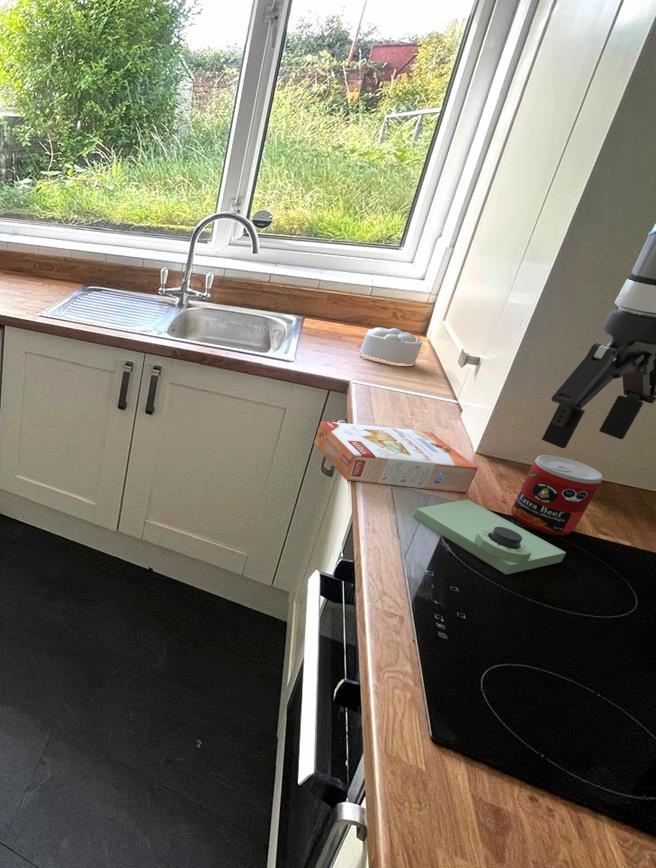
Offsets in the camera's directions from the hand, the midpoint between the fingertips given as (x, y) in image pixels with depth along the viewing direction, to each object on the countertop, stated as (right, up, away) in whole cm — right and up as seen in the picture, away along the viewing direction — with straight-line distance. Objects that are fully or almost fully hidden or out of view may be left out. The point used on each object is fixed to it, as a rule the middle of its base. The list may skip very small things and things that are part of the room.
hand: (582, 439), depth 93 cm
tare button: (-17, -15, -4) cm, 23 cm away
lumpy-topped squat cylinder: (+28, +13, +77) cm, 83 cm away
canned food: (0, -15, +6) cm, 16 cm away
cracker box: (-5, -6, +18) cm, 20 cm away
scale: (-15, -16, +1) cm, 22 cm away
